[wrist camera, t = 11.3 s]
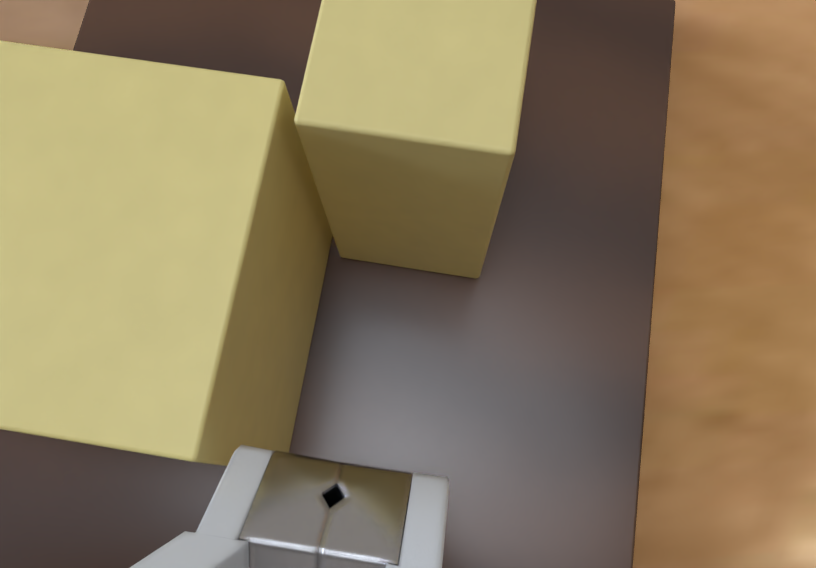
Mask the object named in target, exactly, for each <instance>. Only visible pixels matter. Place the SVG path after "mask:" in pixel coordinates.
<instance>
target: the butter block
mask: <svg viewBox="0 0 816 568" xmlns="http://www.w3.org/2000/svg"><path fill="white" fill-rule="evenodd" d="M294 118H295V112H294V109H293V106H292V103H291V100H290V97H289V94H288V91H287V88H286V85H285V82H284V81H283V80H281V79H274V78H267V77H260V76H253V75H246V74H238V73H231V72H224V71H217V70H209V69H202V68H195V67H188V66H181V65H173V64H166V63H159V62H152V61H145V60H137V59H130V58H123V57H116V56H108V55H101V54H94V53H87V52H80V51H72V50H65V49H58V48H51V47H43V46H36V45H29V44H22V43H15V42H7V41H0V429H2V430H8V431H13V432H19V433H25V434H31V435H37V436H43V437H49V438H55V439H60V440H66V441H72V442H78V443H84V444H90V445H96V446H102V447H107V448H113V449H119V450H125V451H131V452H137V453H143V454H149V455H154V456H160V457H166V458H172V459H178V460H184V461H190V462H197V463H206V464H214V465H223V466H227V465H228V463H229V461H230V459H231V457H232V455H233V453H234V451H235V450H236V449H237V448H238V447H239V446H240V445H246V446H251V447H256V448H261V449H267V450H272V451H276V450H277V451H282V452H288V453H289V449H290V444H291V439H292V434H293V429H294V424H295V419H296V414H297V409H298V404H299V399H300V394H301V389H302V384H303V379H304V374H305V369H306V364H307V359H308V355H309V350H310V345H311V340H312V335H313V330H314V325H315V320H316V315H317V310H318V305H319V300H320V295H321V290H322V285H323V280H324V275H325V270H326V265H327V260H328V255H329V250H330V245H331V240H332V235H333V234H332V231H331V228H330V225H329V222H328V220H327V217H326V214H325V211H324V208H323V205H322V202H321V199H320V196H319V193H318V190H317V187H316V184H315V181H314V178H313V175H312V172H311V169H310V166H309V164H308V161H307V158H306V155H305V152H304V149H303V146H302V143H301V140H300V137H299V134H298V131H297V128H296V125H295V121H294Z"/></svg>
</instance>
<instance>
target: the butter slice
mask: <svg viewBox="0 0 816 568" xmlns="http://www.w3.org/2000/svg"><path fill="white" fill-rule="evenodd" d="M536 3H537V0H322V1H321V5H320V10H319V14H318V18H317V23H316V27H315V31H314V36H313V40H312V44H311V49H310V53H309V57H308V62H307V66H306V70H305V74H304V79H303V83H302V87H301V92H300V96H299V100H298V105H297V109H296V113H295V118H294V121H295V125H296V128H297V131H298V134H299V137H300V140H301V143H302V146H303V149H304V152H305V155H306V158H307V161H308V164H309V166H310V169H311V172H312V175H313V178H314V181H315V184H316V187H317V190H318V193H319V196H320V199H321V202H322V205H323V208H324V211H325V214H326V217H327V220H328V222H329V225H330V228H331V231H332V234H333V237H334V240H335V243H336V246H337V249H338V252H339V255H340V257H342V258H348V259H354V260H360V261H367V262H373V263H379V264H386V265H392V266H399V267H405V268H411V269H418V270H424V271H431V272H437V273H443V274H450V275H456V276H463V277H469V278H475V279H476V278H479V276H480V274H481V270H482V267H483V263H484V260H485V256H486V253H487V249H488V246H489V242H490V239H491V235H492V232H493V228H494V225H495V221H496V218H497V215H498V211H499V208H500V204H501V201H502V197H503V194H504V190H505V187H506V183H507V180H508V176H509V173H510V169H511V166H512V162H513V159H514V155H515V152H516V145H517V138H518V131H519V124H520V117H521V109H522V102H523V95H524V88H525V81H526V74H527V67H528V60H529V52H530V45H531V38H532V31H533V24H534V17H535V10H536Z"/></svg>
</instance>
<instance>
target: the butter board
mask: <svg viewBox="0 0 816 568" xmlns="http://www.w3.org/2000/svg"><path fill="white" fill-rule="evenodd" d="M321 1H322V0H89V3H88V6H87V9H86V13H85V16H84V19H83V22H82V25H81V28H80V31H79V34H78V37H77V40H76V43H75V46H74V49H73V51H80V52H87V53H94V54H101V55H108V56H116V57H123V58H130V59H137V60H145V61H152V62H159V63H166V64H173V65H181V66H188V67H195V68H202V69H209V70H217V71H224V72H231V73H238V74H246V75H253V76H260V77H267V78H274V79H281V80H283V81H284V82H285V85H286V88H287V91H288V94H289V97H290V100H291V103H292V106H293V109H294V112H295V113H296V109H297V105H298V100H299V96H300V92H301V87H302V83H303V79H304V74H305V70H306V66H307V62H308V57H309V53H310V49H311V44H312V40H313V36H314V31H315V27H316V23H317V18H318V14H319V10H320V5H321ZM674 15H675V1H674V0H537V3H536V10H535V17H534V24H533V31H532V38H531V45H530V52H529V60H528V67H527V74H526V81H525V88H524V95H523V102H522V109H521V117H520V124H519V131H518V138H517V145H516V152H515V155H514V159H513V162H512V166H511V169H510V173H509V176H508V180H507V183H506V187H505V190H504V194H503V197H502V201H501V204H500V208H499V211H498V215H497V218H496V221H495V225H494V228H493V232H492V235H491V239H490V242H489V246H488V249H487V253H486V256H485V260H484V263H483V267H482V270H481V274H480V276H479V278H476V279H475V278H469V277H463V276H456V275H450V274H443V273H437V272H431V271H424V270H418V269H411V268H405V267H399V266H392V265H386V264H379V263H373V262H367V261H360V260H354V259H348V258H342V257H340V255H339V252H338V249H337V246H336V243H335V240H334V237H333V235H332V240H331V245H330V250H329V255H328V260H327V265H326V270H325V275H324V280H323V285H322V290H321V295H320V300H319V305H318V310H317V315H316V320H315V325H314V330H313V335H312V340H311V345H310V350H309V355H308V359H307V364H306V369H305V374H304V379H303V384H302V389H301V394H300V399H299V404H298V409H297V414H296V419H295V424H294V429H293V434H292V439H291V444H290V449H289V453H293V454H299V455H304V456H310V457H315V458H321V459H326V460H332V461H337V462H343V463H344V462H345V463H352V464H359V465H365V466H372V467H379V468H386V469H392V470H399V471H406V472H412V476H413V473H421V474H428V475H435V476H442V477H448V480H449V483H450V484H449V495H448V506H447V517H446V528H445V539H444V550H443V562H442V568H633V555H634V542H635V528H636V515H637V502H638V489H639V476H640V463H641V449H642V436H643V423H644V410H645V397H646V384H647V370H648V357H649V344H650V331H651V318H652V305H653V291H654V278H655V265H656V252H657V239H658V226H659V212H660V199H661V186H662V173H663V160H664V147H665V133H666V120H667V107H668V94H669V81H670V68H671V54H672V41H673V28H674ZM226 468H227V466H223V465H214V464H206V463H197V462H190V461H184V460H178V459H172V458H166V457H160V456H154V455H149V454H143V453H137V452H131V451H125V450H119V449H113V448H107V447H102V446H96V445H90V444H84V443H78V442H72V441H66V440H60V439H55V438H49V437H43V436H37V435H31V434H25V433H19V432H13V431H8V430H2V429H0V568H130V567H131V566H133V565H134V564H136V563H137V562H139V561H140V560H142V559H143V558H145V557H147V556H148V555H150V554H151V553H153V552H154V551H156V550H157V549H159V548H160V547H162V546H163V545H165V544H166V543H168V542H169V541H171V540H172V539H174V538H175V537H177V536H178V535H180V534H181V533H183V532H184V531H187V532H194V533H196V531H197V529H198V527H199V524H200V522H201V520H202V518H203V516H204V514H205V512H206V510H207V508H208V505H209V503H210V501H211V499H212V497H213V495H214V493H215V491H216V489H217V487H218V484H219V482H220V480H221V478H222V476H223V474H224V472H225V470H226ZM411 482H412V479H411ZM410 489H411V487H410Z"/></svg>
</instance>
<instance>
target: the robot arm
mask: <svg viewBox="0 0 816 568" xmlns="http://www.w3.org/2000/svg"><path fill="white" fill-rule="evenodd" d="M411 479H412V482H411ZM449 484H450V483H449V480H448V477H442V476H435V475H428V474H421V473H413V476H412V472H406V471H399V470H392V469H386V468H379V467H372V466H365V465H359V464H352V463H345V462H344V463H343V462H337V461H332V460H326V459H321V458H315V457H310V456H304V455H299V454H293V453H288V452H282V451H277V450H276V451H272V450H267V449H261V448H256V447H251V446H246V445H240V446H239V447H238V448H237V449H236V450H235V451H234V453H233V455H232V457H231V459H230V461H229V463H228V465H227V468H226V470H225V472H224V474H223V476H222V478H221V480H220V482H219V484H218V487H217V489H216V491H215V493H214V495H213V497H212V499H211V501H210V503H209V505H208V508H207V510H206V512H205V514H204V516H203V518H202V520H201V522H200V524H199V527H198V529H197V531H196V533H194V532H187V531H184V532H183V533H181V534H180V535H178V536H177V537H175V538H174V539H172V540H171V541H169V542H168V543H166V544H165V545H163V546H162V547H160V548H159V549H157V550H156V551H154V552H153V553H151V554H150V555H148V556H147V557H145V558H143V559H142V560H140V561H139V562H137V563H136V564H134V565H133V566H131V567H130V568H442V562H443V550H444V539H445V528H446V517H447V506H448V495H449ZM410 487H411V489H410Z"/></svg>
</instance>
